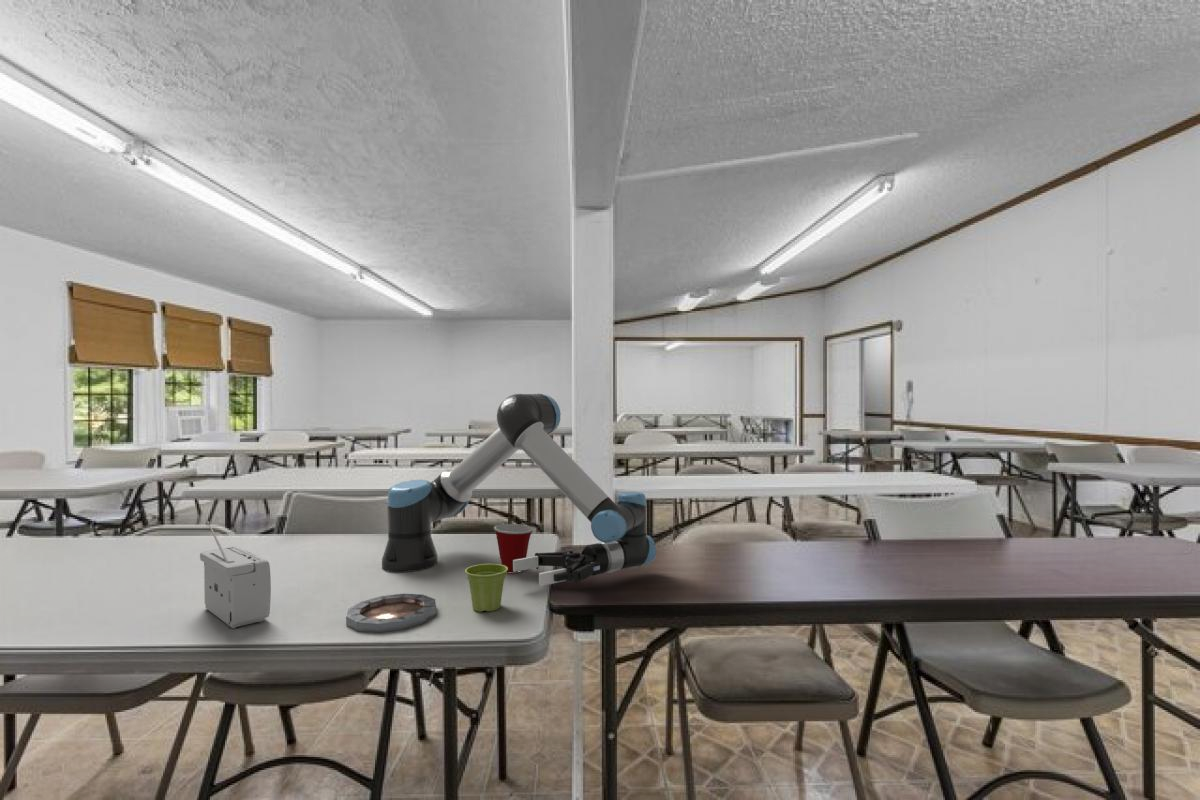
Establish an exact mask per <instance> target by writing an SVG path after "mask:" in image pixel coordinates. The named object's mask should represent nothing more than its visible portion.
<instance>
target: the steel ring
mask: <svg viewBox="0 0 1200 800" xmlns="http://www.w3.org/2000/svg"><path fill="white" fill-rule="evenodd" d="M436 615H437V604H436V599H435V598H433V597H431V596H428V595H425V594H422V593H421V594H418V593H417V594H416V593H399V594H398V593H396V594H387V595H381V596H378V597H374V598H369V599H366V600H363V601H360V602H358V603H357V604H355V605H353V606H351V607H350V608H348V610H347V612H346V617H345V619H346V621H345V622H346V624H345V625H346V626H347V627H349V628H351V629H352V630H354V631H356V632H365V633H378V634H380V633H388V632H396V631H403V630H407V629H410V628H413V627H417V626H419V625H421V624H425V623H427V622H428V621H429V620H431V619H432V618H434V617H436Z"/></svg>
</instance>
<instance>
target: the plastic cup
mask: <svg viewBox="0 0 1200 800" xmlns="http://www.w3.org/2000/svg"><path fill="white" fill-rule="evenodd" d="M493 530H494V531H495V535H496V540H497V541H496V542H497V546H498V552H499V559H500V562H501V563H500V564H501V565H504V566H506V567H507V568H508V571H507V572H514V571H513V560H516V559H522V558H527V555H528V549H529V545H530V544H529V543H530V540H531V535H532V533H533V531H534V528H533V527H532V526H531V525H525V524H521V523H520V524H517V523H504V524H503V523H502V524H497V525H495V526H494V527H493ZM517 572H518V571H517ZM518 573H519V572H518Z"/></svg>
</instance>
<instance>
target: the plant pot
mask: <svg viewBox="0 0 1200 800" xmlns="http://www.w3.org/2000/svg"><path fill="white" fill-rule="evenodd" d="M464 571H465V572H464V573H465V574H466V576H467V579H468V584H469V590H470V598H471V604H472V605H471V606H472V609H473V610H474V611H476V612H479V613H481V612H483V611H486V612H489V611H490V612H493V611H496V610H499V609H500V608H501V605H502V596H503V589H504V582H505V578H506V575H507V574H506V572H507V571H508V568H507V567H506V566H504V565H502V564H501V563H500V564H499V563H481V564H476V565H475V564H474V565H471V566H468V567H467V568H465V570H464ZM490 612H489V613H490Z"/></svg>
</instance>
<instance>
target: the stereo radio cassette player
mask: <svg viewBox="0 0 1200 800" xmlns="http://www.w3.org/2000/svg"><path fill="white" fill-rule="evenodd" d="M206 523H207V525H208V526H209V529H210V530H211V533H212V536H213V538H214V540H215V542H216V545H217V546H218V548H216V549H210V550H205V551H202V552H200V553H199V558H200V559H199V560H200V561H202V562H203V565H204V566H203V567H204V568H203V569H204V573H203V574H204V575H203V579H204V585H203V586H204V605H205V609H207V610H208V611H209V612H210V613H211V614H213V615H215V616H216V617H217V618H218V619H220V620H221V621H222V622H223V623H225V624H226V625H227V626H229V627H230V628H231V629H236V628H238V627H242V626H243V627H244V626H247V625H250V624H255V623H262V622H264V621H265V619H266V618H268V617H270V613H271V598H272V597H271V596H272V595H271V593H272V586H271V584H272V580H271V565H270V561H268V560H267V559H265V558H263V557H261V556H259V555H256V554H254V553H252V552H250V551H247V550H245V549H243V548H241V547H238V546H234V545H233V546H228V547H222V546H221V543H220V541H219V539H218V537H217V535H216V534H215V532H214V530H213V528H212V526H211V524H210V521H206Z"/></svg>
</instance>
